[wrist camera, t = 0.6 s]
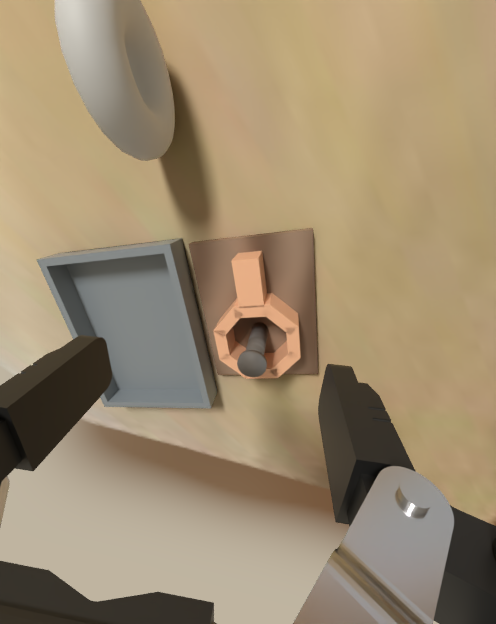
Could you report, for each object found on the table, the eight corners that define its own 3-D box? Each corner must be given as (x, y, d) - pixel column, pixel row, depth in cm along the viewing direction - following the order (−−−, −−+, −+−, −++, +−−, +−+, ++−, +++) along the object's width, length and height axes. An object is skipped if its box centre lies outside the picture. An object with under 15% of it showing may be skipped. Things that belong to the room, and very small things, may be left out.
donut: (191, 163, 24) (131, 148, 15) (156, 167, 25) (79, 156, 16) (166, 12, 20) (63, -129, 11) (125, 23, 21) (-3, -102, 12)
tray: (182, 238, 27) (169, 243, 25) (217, 391, 35) (211, 408, 33) (59, 253, 30) (36, 259, 27) (117, 391, 38) (104, 406, 36)
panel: (312, 228, 25) (318, 243, 18) (317, 368, 31) (323, 417, 25) (192, 242, 27) (158, 260, 20) (219, 369, 34) (201, 415, 27)
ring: (293, 247, 25) (293, 254, 22) (301, 360, 30) (301, 378, 27) (208, 256, 27) (199, 263, 24) (229, 362, 32) (223, 378, 29)
